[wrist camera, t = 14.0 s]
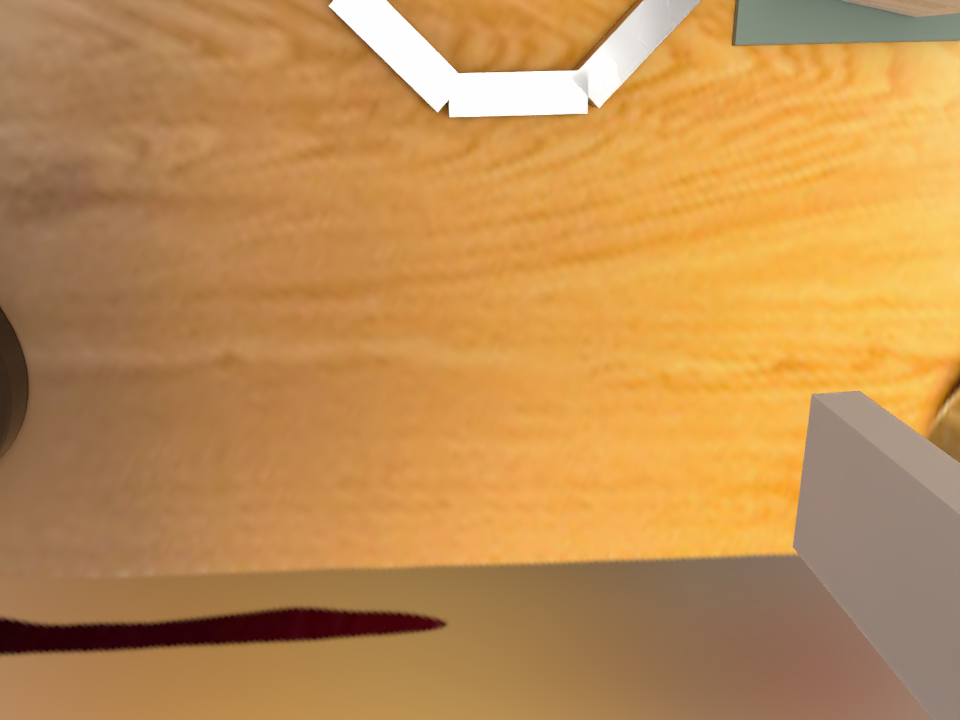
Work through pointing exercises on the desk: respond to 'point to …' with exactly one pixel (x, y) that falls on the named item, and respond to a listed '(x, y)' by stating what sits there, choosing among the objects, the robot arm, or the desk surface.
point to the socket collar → (515, 91)
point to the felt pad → (833, 23)
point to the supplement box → (913, 6)
